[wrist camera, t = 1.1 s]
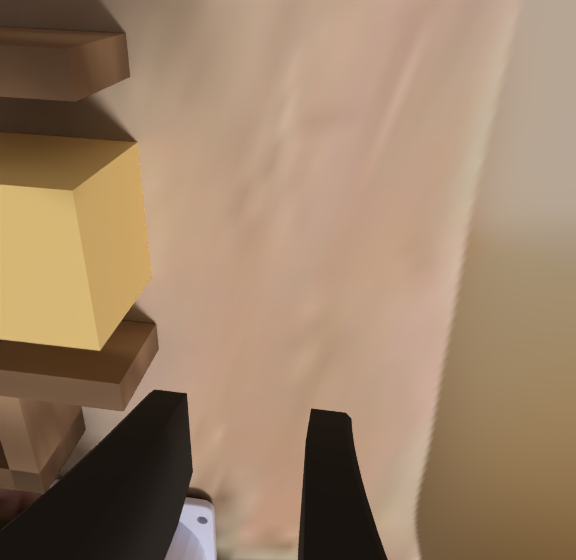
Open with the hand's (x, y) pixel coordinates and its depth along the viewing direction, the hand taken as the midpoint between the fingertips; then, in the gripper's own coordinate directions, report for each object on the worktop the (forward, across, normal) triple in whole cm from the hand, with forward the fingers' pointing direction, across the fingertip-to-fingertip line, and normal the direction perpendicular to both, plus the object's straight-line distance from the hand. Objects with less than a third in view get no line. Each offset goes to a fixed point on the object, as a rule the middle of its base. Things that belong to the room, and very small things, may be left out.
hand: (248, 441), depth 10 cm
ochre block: (+10, +8, 0) cm, 12 cm away
